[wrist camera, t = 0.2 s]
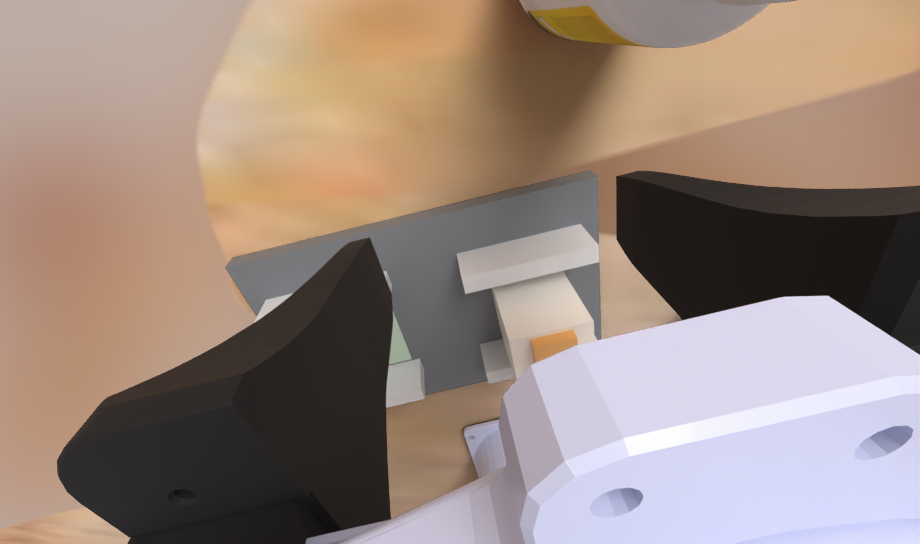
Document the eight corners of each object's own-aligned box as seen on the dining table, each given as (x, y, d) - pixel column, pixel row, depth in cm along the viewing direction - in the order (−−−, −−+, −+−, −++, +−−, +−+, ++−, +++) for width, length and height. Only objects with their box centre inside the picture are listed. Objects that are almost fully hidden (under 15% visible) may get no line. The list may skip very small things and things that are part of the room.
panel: (595, 344, 28) (617, 381, 25) (325, 407, 29) (316, 451, 26) (589, 170, 21) (618, 194, 18) (232, 257, 22) (204, 295, 19)
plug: (561, 312, 25) (600, 388, 20) (499, 327, 25) (522, 406, 20) (556, 260, 23) (599, 329, 18) (488, 276, 23) (511, 350, 18)
